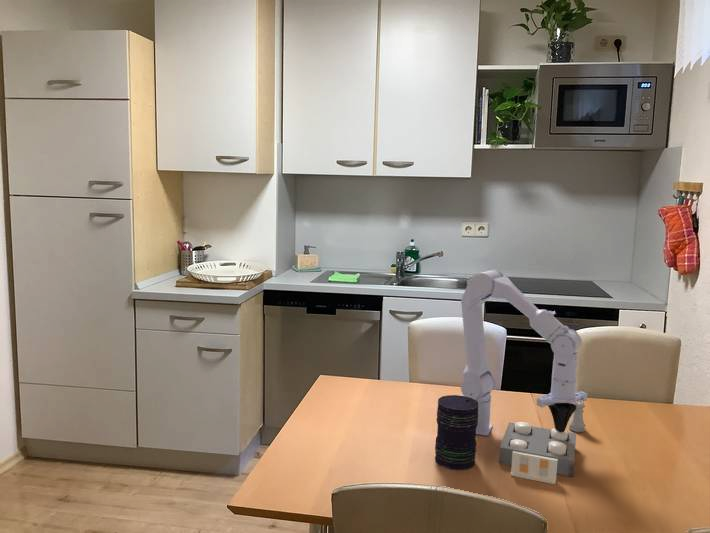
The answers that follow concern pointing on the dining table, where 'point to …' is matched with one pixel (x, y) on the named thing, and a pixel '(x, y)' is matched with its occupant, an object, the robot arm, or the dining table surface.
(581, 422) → the rook chess piece
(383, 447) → the dining table surface
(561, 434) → the button back right
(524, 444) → the button front left
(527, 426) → the button back left
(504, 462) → the button board
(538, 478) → the pattern card
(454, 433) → the storage jar
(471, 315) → the robot arm
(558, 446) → the button front right
